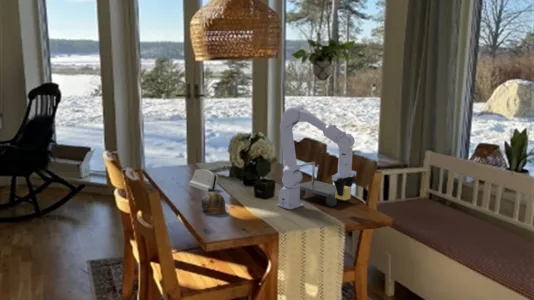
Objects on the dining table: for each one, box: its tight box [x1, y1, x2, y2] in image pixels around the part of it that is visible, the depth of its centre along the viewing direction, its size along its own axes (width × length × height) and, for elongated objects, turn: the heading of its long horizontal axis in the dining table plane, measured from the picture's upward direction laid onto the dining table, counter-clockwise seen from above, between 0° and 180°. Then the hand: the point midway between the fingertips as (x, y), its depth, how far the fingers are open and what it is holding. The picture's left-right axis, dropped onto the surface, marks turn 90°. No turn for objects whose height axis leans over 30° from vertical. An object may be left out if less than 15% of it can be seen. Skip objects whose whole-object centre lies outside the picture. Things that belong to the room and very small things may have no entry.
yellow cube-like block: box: [334, 186, 352, 201], centre depth 211 cm, size 4×5×5 cm
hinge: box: [188, 168, 219, 193], centre depth 250 cm, size 17×5×10 cm, turn 44°
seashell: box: [200, 191, 227, 215], centre depth 212 cm, size 11×9×8 cm
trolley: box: [297, 161, 352, 208], centre depth 232 cm, size 14×24×16 cm, turn 45°
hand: (343, 194), depth 211 cm, fingers closed on yellow cube-like block, 4 cm apart
